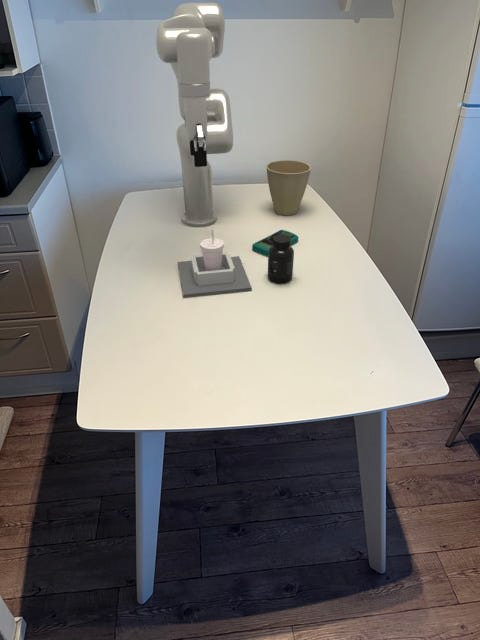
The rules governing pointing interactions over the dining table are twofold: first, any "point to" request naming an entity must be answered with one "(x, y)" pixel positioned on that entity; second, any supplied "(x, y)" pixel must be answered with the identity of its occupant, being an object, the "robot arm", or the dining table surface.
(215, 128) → the robot arm
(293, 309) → the dining table surface
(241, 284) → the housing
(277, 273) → the supplement bottle
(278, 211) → the plant pot
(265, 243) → the digital multimeter
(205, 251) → the smoothie
